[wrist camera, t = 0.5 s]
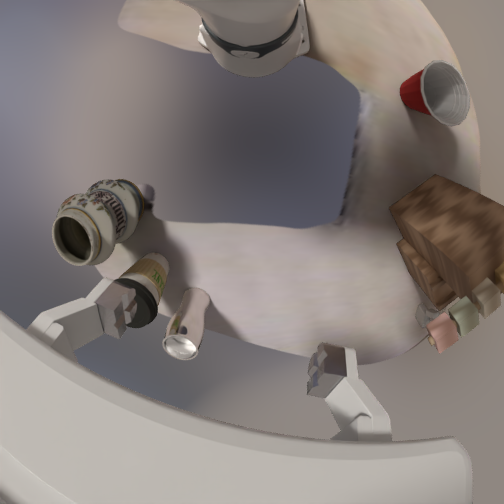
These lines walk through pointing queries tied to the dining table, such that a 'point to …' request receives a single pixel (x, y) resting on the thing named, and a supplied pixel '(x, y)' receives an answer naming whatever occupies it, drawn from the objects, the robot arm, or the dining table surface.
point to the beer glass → (187, 325)
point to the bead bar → (466, 312)
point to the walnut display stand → (449, 238)
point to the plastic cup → (438, 93)
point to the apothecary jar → (97, 221)
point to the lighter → (425, 315)
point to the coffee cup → (146, 286)
